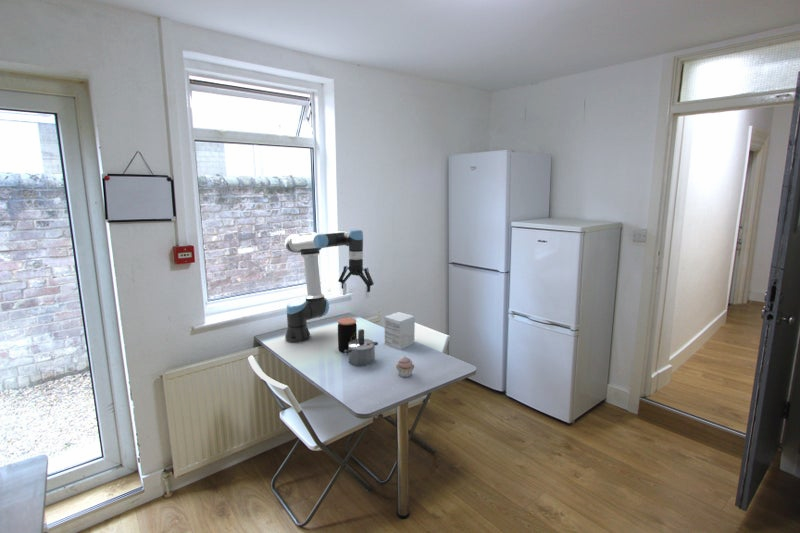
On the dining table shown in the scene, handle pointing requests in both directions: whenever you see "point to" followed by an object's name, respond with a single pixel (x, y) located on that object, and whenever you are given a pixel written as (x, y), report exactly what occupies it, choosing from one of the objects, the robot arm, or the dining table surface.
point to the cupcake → (405, 367)
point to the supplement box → (399, 330)
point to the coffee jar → (346, 332)
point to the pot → (361, 356)
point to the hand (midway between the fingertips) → (355, 296)
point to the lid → (361, 342)
